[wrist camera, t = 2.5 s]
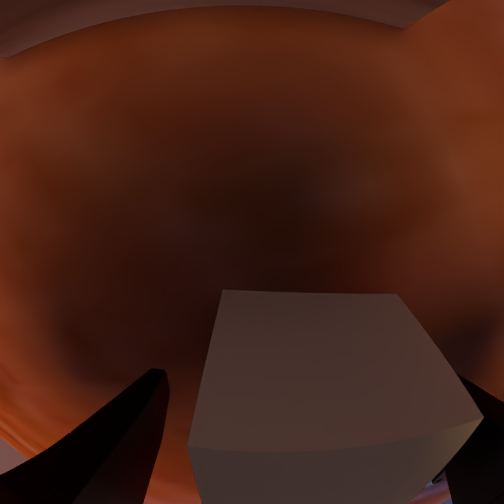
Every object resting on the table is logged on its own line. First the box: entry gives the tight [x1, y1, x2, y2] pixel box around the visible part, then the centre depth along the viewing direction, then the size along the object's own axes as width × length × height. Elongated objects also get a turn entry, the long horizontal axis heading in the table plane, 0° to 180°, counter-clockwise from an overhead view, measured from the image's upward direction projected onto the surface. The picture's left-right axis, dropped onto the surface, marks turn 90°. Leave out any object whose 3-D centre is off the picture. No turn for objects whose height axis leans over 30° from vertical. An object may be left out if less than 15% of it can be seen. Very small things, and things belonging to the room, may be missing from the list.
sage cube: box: [187, 289, 484, 504], centre depth 7 cm, size 5×5×5 cm
